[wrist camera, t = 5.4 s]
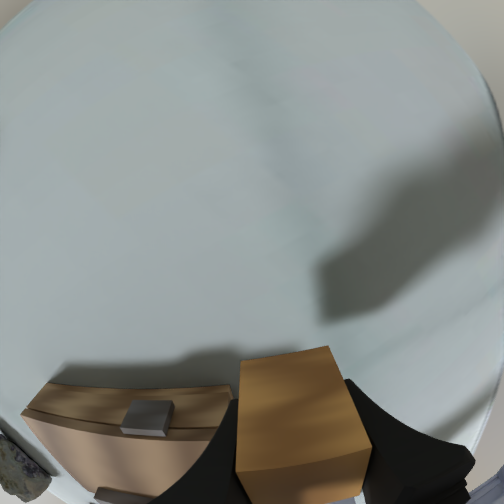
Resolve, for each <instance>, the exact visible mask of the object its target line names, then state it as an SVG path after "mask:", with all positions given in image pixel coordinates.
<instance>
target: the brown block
mask: <svg viewBox="0 0 504 504" xmlns="http://www.w3.org/2000/svg"><path fill="white" fill-rule="evenodd" d="M371 450H372V445H371V443H370V441H369V438H368V436H367V433H366V431H365V429H364V426H363V424H362V421H361V419H360V417H359V414H358V412H357V410H356V407H355V405H354V403H353V400H352V398H351V396H350V393H349V391H348V389H347V386H346V384H345V382H344V380H343V377H342V375H341V373H340V371H339V368H338V366H337V364H336V362H335V359H334V357H333V355H332V353H331V351H330V348H329V346H323V347H319V348H314V349H309V350H304V351H299V352H294V353H288V354H283V355H277V356H271V357H265V358H258V359H251V360H244V361H241V364H240V384H239V406H238V428H237V450H236V474H237V476H238V478H239V480H240V481H241V483H242V485H243V487H244V489H245V491H246V493H247V495H248V496H249V498H250V500H251V502H252V504H327V503H331V502H336V501H340V500H344V499H347V498H351V497H355V496H358V495H360V492H361V488H362V485H363V481H364V478H365V474H366V470H367V466H368V462H369V458H370V454H371Z"/></svg>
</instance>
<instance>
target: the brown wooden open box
mask: <svg viewBox="0 0 504 504" xmlns="http://www.w3.org/2000/svg"><path fill="white" fill-rule="evenodd" d="M232 399H234V398H233V395H232V391H231V388H230V385H219V386H208V387H194V388H174V389H113V388H94V387H81V386H70V385H61V384H53V383H46V384H45V385H44V387H43V388H42V389H41V390H40V391H39V392H38V394H37V395H36V396H35V397H34V398H33V400H32V401H31V402H30V403H29V404H28V406H27V409H30V410H33V411H37V412H41V413H45V414H49V415H53V416H58V417H63V418H68V419H73V420H78V421H84V422H90V423H97V424H104V425H112V426H121V424H122V421H123V419H124V417H125V415H126V413H127V411H128V409H129V407H130V405H131V403H132V401H133V400H172V401H173V403H174V405H175V408H174V411H173V415H172V418H171V421H170V425H169V428H168V429H216V428H218V427H219V425H220V423H221V421H222V419H223V417H224V415H225V412H226V410H227V408H228V405H229V402H230V401H231V400H232Z"/></svg>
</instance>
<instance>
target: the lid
mask: <svg viewBox="0 0 504 504" xmlns="http://www.w3.org/2000/svg"><path fill="white" fill-rule="evenodd" d="M174 408H175V405H174V403H173V401H172V400H133V401H132V403H131V405H130V407H129V409H128V411H127V413H126V415H125V417H124V419H123V421H122V424H121V426H112V425H104V424H97V423H90V422H84V421H78V420H73V419H68V418H63V417H58V416H53V415H49V414H45V413H41V412H37V411H33V410H30V409H26V408H25V409H24V411H23V412H22V413H21V414H20V415H21V417H22V418H23V420H24V421H25V422H26V424H27V425H28V426H29V428H30V429H31V430H32V432H33V433H34V434H35V435H36V437H37V438H38V439H39V440H40V442H41V443H42V444H43V445H44V446H45V448H46V449H47V450H48V451H49V452H50V453H51V455H52V456H53V457H54V458H55V459H56V460H57V461H58V462H59V463H60V464H61V465H62V466H63V468H64V469H65V470H66V471H67V472H68V473H69V474H70V475H71V476H72V477H73V478H74V479H75V480H76V481H78V482H79V483H80V484H81V485H82V486H83V487H84V488H85V489H86V490H87V491H89V492H92V493H95V496H94V499H95V500H96V501H97V502H99V503H100V504H147V503H148V502H150V501H151V500H153V499H154V498H156V497H157V496H159V495H160V494H162V493H163V492H164V491H166V490H167V489H168V488H169V487H171V486H172V485H173V484H174V483H175V482H176V481H178V480H179V479H180V478H181V477H182V476H183V475H184V474H185V473H186V472H187V471H188V470H189V469H190V467H191V466H192V465H193V464H194V463H195V462H196V460H197V459H198V458H199V457H200V455H201V454H202V453H203V451H204V450H205V448H206V447H207V445H208V444H209V442H210V441H211V439H212V437H213V436H214V434H215V432H216V430H217V429H218V428H216V429H168V428H169V425H170V421H171V418H172V415H173V411H174Z"/></svg>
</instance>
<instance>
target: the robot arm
mask: <svg viewBox="0 0 504 504" xmlns="http://www.w3.org/2000/svg"><path fill="white" fill-rule="evenodd" d="M344 382H345V384H346V386H347V389H348V391H349V393H350V396H351V398H352V400H353V403H354V405H355V407H356V410H357V412H358V414H359V417H360V419H361V421H362V424H363V426H364V429H365V431H366V433H367V436H368V438H369V441H370V443H371V445H372V450H371V454H370V458H369V462H368V466H367V470H366V474H365V478H364V481H363V485H362V489H363V493H364V497H365V502H366V504H504V465H503V466H502V467H501V468H500V470H499V471H498V472H497V474H495V475H494V476H493V477H491V478H490V479H489V480H487V481H486V482H484V483H483V484H481V485H480V486H478V487H477V488H475V489H474V490H472V491H471V492H469V493H468V491H467V489H466V488H465V486H466V485H467V482H466V480H465V479H464V478H465V477H466V476H467V474H468V473H469V472H470V471H471V469H472V468H473V466H474V465H475V459H474V457H473V456H472V454H471V453H470V451H469V450H468V449H467V448H466V447H465V446H463V445H458V444H453V443H449V442H445V441H442V440H438V439H435V438H433V437H430V436H428V435H425V434H423V433H421V432H418V431H416V430H414V429H412V428H411V427H409V426H407V425H405V424H403V423H402V422H400V421H398V420H397V419H395V418H394V417H392V416H391V415H390V414H388V413H387V412H386V411H384V410H383V409H382V408H380V407H379V406H378V405H377V404H376V403H375V402H373V401H372V400H371V399H370V398H369V397H368V396H367V395H366V394H365V393H364V392H362V391H361V390H360V389H359V388H358V387H357V385H356V384H355V383H354V382H353V381H352V380H351V379H345V380H344ZM238 406H239V399H232V400H231V401H230V402H229V405H228V408H227V410H226V412H225V415H224V417H223V419H222V421H221V423H220V425H219V427H218V429H217V430H216V432H215V434H214V436H213V437H212V439H211V441H210V442H209V444H208V445H207V447H206V448H205V450H204V451H203V453H202V454H201V455H200V457H199V458H198V459H197V460H196V462H195V463H194V464H193V465H192V466H191V467H190V469H189V470H188V471H187V472H186V473H185V474H184V475H183V476H182V477H181V478H180V479H179V480H178V481H176V482H175V483H174V484H173V485H172V486H171V487H169V488H168V489H167V490H166V491H164V492H163V493H162V494H160V495H159V496H157V497H156V498H154V499H153V500H151V501H150V502H148V503H147V504H252V502H251V500H250V498H249V496H248V495H247V493H246V491H245V489H244V487H243V485H242V483H241V481H240V480H239V478H238V476H237V474H236V450H237V428H238ZM327 504H356V503H355V500H354V497H351V498H347V499H344V500H340V501H336V502H331V503H327Z"/></svg>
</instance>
